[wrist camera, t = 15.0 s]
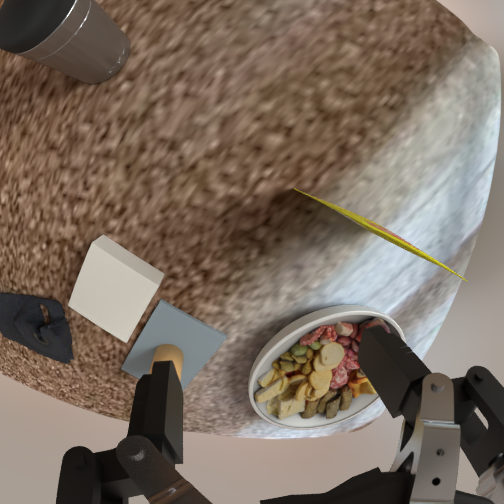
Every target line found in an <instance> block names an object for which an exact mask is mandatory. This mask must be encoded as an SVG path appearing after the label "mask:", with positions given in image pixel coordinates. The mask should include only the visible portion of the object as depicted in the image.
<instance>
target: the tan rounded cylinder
mask: <svg viewBox="0 0 504 504" xmlns="http://www.w3.org/2000/svg"><path fill="white" fill-rule="evenodd" d="M166 360H172V361H173V363H174V365H175V368H176V371H177V374H178V377H179V380H181V373H182V366H183V360H184V354H183V352H182V351H181V349H180V348H178V347H177V346H175V345H172V344H162V345H160V346H158V347H157V348H156V350H155V354H154V357H153V361H152V364H151V368H150V371H149V374H151V373H152V367H153V363H154V361H166Z"/></svg>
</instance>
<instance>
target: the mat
mask: <svg viewBox="0 0 504 504" xmlns="http://www.w3.org/2000/svg"><path fill="white" fill-rule="evenodd" d="M226 338H227V335H226V334H224V333H222V332H220V331H218V330H216V329H214V328H212V327H210V326H209V325H207V324H205V323H203V322H201V321H199V320H197V319H196V318H194V317H192V316H190V315H188V314H187V313H185V312H183V311H181V310H179V309H178V308H176V307H174V306H172V305H171V304H169V303H167V302H166V301H164V300H162V299H161V300H160V302H159V303H158V305H157V307H156V308H155V310H154V312H153V313H152V315H151V317H150V318H149V320H148V322H147V324H146V325H145V327H144V329H143V330H142V332H141V334H140V336H139V337H138V339H137V341H136V342H135V344H134V346H133V348H132V349H131V351H130V353H129V355H128V357H127V358H126V360H125V362H124V364H123V365H122V367H121V369H122V370H124V371H125V372H127V373H129V374H131V375H133V376H135V377H137V378H139V379H140V378H141V377H142V376H143V374H149V371H150V368H151V364H152V361H153V357H154V354H155V350H156V348H157V347H158V346H160V345H162V344H172V345H175V346H177V347H178V348H180V349H181V351H182V352H183V354H184V360H183V366H182V373H181V380H180V383H181V386H182V391H183V389H184V388H185V387H186V386H187V385H188V384H189V382H190V381H191V380H192V379H193V378H194V377H195V375H196V374H197V373H198V372H199V371H200V369H201V368H202V367H203V366H204V365H205V363H206V362H207V361H208V360H209V359H210V357H211V356H212V355H213V354H214V353H215V351H216V350H217V349H218V348H219V347H220V345H221V344H222V343H223V342H224V341H225V339H226Z"/></svg>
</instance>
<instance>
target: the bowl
mask: <svg viewBox="0 0 504 504" xmlns="http://www.w3.org/2000/svg"><path fill="white" fill-rule="evenodd" d="M375 325H381V326H382V327H383V328H384V329H385V330H386V331H387V332H388V333H393V334H395V335H396V336H398V337H400V338H401V339H402V340H403V341H404V342H405V337H404V334H403V332H402V330H401V329H400V327H399V326H398V325H397V323H396V322H395V321H394V320H393V319H392V318H390V317H389V316H388V315H386V314H385V313H383V312H381V311H379V310H377V309H374V308H371V307H367V306H361V305H340V306H333V307H328V308H324V309H321V310H318V311H315V312H312V313H310V314H307V315H305V316H303V317H301V318H299V319H297V320H295V321H294V322H292V323H290V324H289V325H287V326H286V327H285V328H283V329H282V330H281V331H279V332H278V333H277V334H276V335H275V336H274V337H273V338H271V339H270V341H269V342H268V343H267V344H266V345H265V346H264V347H263V349H262V350H261V351H260V353H259V354H258V356H257V358H256V360H255V361H254V364H253V366H252V369H251V372H250V376H249V382H248V392H249V398H250V402H251V405H252V407H253V408H254V410H255V411H256V413H257V414H258V415H259V416H260V417H262V418H263V419H264V420H266V421H267V422H269V423H271V424H273V425H276V426H279V427H282V428H287V429H294V430H310V429H318V428H323V427H328V426H331V425H335V424H338V423H340V422H343V421H345V420H348V419H350V418H352V417H354V416H356V415H358V414H359V413H361V412H363V411H364V410H366V409H367V408H369V407H370V406H371V405H373V404H374V403H375V402H376V401H377V400H379V399H380V397H379V395H378V394H377V392H376V391H375V389H374V388H373V386H372V385H371V383H370V381H369V380H368V378H367V377H366V375H365V374H364V372H363V371H362V369H361V368H360V366H359V363H358V350H359V345H360V340H361V335H362V331H363V329H365V328H368V327H372V326H375ZM405 343H406V342H405Z"/></svg>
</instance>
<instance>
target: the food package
mask: <svg viewBox="0 0 504 504" xmlns="http://www.w3.org/2000/svg"><path fill="white" fill-rule="evenodd" d="M293 189H295V188H293ZM295 190H297V189H295ZM297 191H299V190H297ZM299 192H301V193H303V194H305V195H307V196H309V197H311V198H313V199H315V200H317V201H319V202H321V203H323V204H324V205H326V206H328V207H330V208H331V209H333V210H335V211H336V212H338V213H340V214H341V215H343V216H345V217H346V218H348V219H350V220H351V221H353V222H355V223H356V224H358V225H360V226H361V227H363V228H365V229H367V230H368V231H370V232H372V233H374V234H376V235H378V236H380V237H382V238H383V239H385V240H387V241H389V242H391V243H393V244H395V245H397V246H399V247H401V248H403V249H405V250H407V251H409V252H411V253H413V254H415V255H417V256H419V257H421V258H424V259H426V260H428V261H430V262H432V263H434V264H436V265H439V266H441V267H443V268H444V269H446V270H448V271H450V272H452V273H454V274H455V275H457V276H459V275H458V274H456V273H455V272H453V271H452V270H451V269H449V268H448V267H446V266H445V265H443V264H442V263H440V262H439V261H437V260H435V259H434V258H432V257H430V256H429V255H427V254H426V253H424V252H422V251H421V250H419V249H418V248H416V247H415V246H413V245H412V244H410V243H408V242H407V241H405V240H404V239H402V238H401V237H399V236H397V235H396V234H394V233H392V232H391V231H389V230H387V229H386V228H384V227H382V226H380V225H378V224H376V223H375V222H373V221H370V220H368V219H366V218H364V217H362V216H360V215H357V214H355V213H353V212H351V211H348V210H346V209H343V208H341V207H338V206H336V205H333V204H331V203H329V202H326V201H324V200H321V199H319V198H317V197H314V196H312V195H309V194H307V193H304V192H302V191H299ZM459 277H460V278H462V277H461V276H459ZM462 279H464V278H462ZM464 280H465V279H464ZM466 281H467V280H466Z"/></svg>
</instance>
